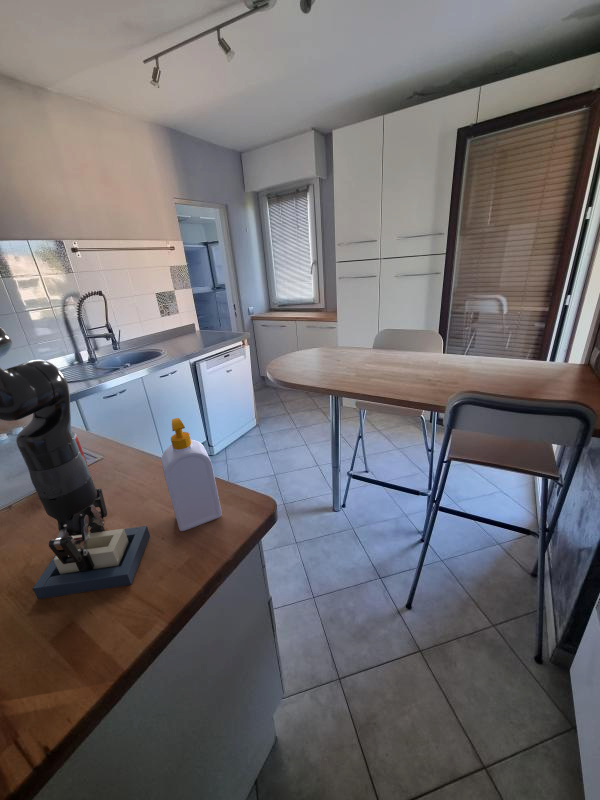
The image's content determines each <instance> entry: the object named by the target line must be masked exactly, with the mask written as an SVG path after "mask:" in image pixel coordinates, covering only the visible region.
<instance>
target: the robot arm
mask: <svg viewBox="0 0 600 800" xmlns="http://www.w3.org/2000/svg"><path fill="white" fill-rule="evenodd" d="M12 347H13V341H12V338H11V337H10V335H9V334H8V333H7V332H6V331H5V329H3V327H2V326H0V359H1V358H3V357H4V356H6V355H7V354H9V352H10V351H11V349H12ZM70 394H71V393H70V388H69V383H68V381H67V378H66V377H65V375H64V374H63V372H62V371H61V370H60V369H59V367H57V366H56V365H55V364H53V363H51V362H50V361H47V360H43V359H35V360H30V361H27V362H24V363H23V362H22V363H20V364H18V365H14V366H11V367H7V368H5V369H3V368H2V367H0V421H4V422H15V421H16V422H17V421H19V420H22V419H24V418H26V417H29V416H31V415H32V418H31V420H30V422H29V423H28V424H27V425H26V426H25V427H24V428H22V430H20V431H19V432H18V434H17V436H16V438H15V443H16V445H17V448H18V450H19V452H20V455H21V456H22V459H23V461H24V463H25V466H26V467H27V470H28V474H29V477H30V481H31V482H32V485H33V487H34V489H35V492H36V494H37V496H38V499H39V501H40V502H41V504H42V507H43V509H44V511H45V513H46V515H47V516H49V517H51V518H52V519H54V520H56V522H57V527H58V528H57V529H58V531H59V532H58V534H57V536H56V538H52V539H50V540H49V541H48V547H49V549H50V550H51V551H52V552H53V554H54V556H55V555H56V556H57V557H58V558H59V560H60V561H61V562H62V563H63V564H68V563H76V565H77V567H78V569H79V571H80V572H81V571H82V572H83V571H90V570H92V569H93V568H94V563H93V561H92V559H91V556H90V553H89V552H88V549H87V541H88V540H89V533H96V532H103V531H106V529H105V527H104V526H105V519H104V518H107V516H108V510H107V506H106V502H105V497H104V493H103V490H102V488H96V485H95V483H94V480H93V477H92V474H91V472H90V470H89V466H88V467H87V464H88V463H87V464H86V462H87V461H86V462H85V460H84V458H83V456H82V455H81V453H80V451H79V448H78V446H77V443H76V440H75V438H74V435H73V433H72V432H73V431H72V415H71V395H70ZM97 508H99V510H98V509H97ZM77 535H82V537H78V538H72V536H77ZM75 544H79V545H80V549H78V550H77V548H76V547H75Z"/></svg>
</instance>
